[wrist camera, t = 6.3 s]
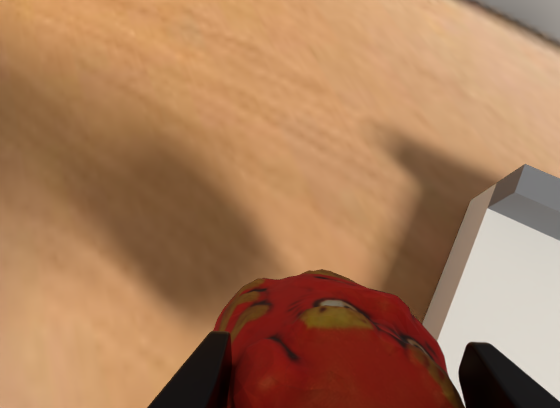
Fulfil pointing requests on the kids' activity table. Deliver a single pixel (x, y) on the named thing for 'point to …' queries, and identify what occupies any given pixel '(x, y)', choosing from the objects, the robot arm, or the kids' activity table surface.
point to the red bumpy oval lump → (330, 348)
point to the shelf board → (505, 279)
